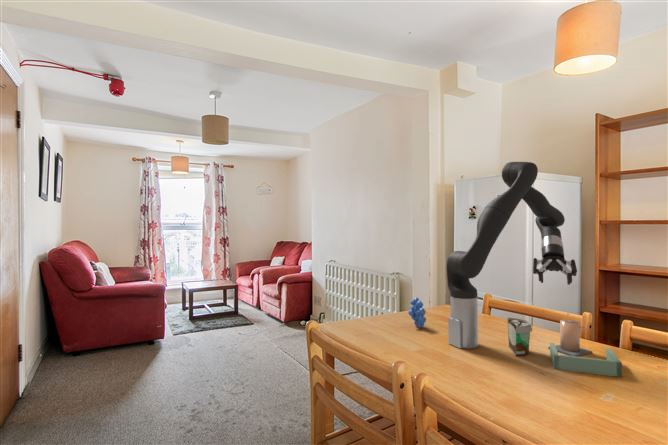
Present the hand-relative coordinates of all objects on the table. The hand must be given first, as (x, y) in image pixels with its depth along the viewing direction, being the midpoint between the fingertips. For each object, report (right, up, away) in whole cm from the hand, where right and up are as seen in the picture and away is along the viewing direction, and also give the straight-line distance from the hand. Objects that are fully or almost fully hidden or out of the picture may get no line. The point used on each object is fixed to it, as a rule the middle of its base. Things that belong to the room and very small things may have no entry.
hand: (555, 282), depth 140 cm
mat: (-2, -21, -12) cm, 24 cm away
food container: (-18, -22, -12) cm, 31 cm away
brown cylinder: (-2, -20, -12) cm, 24 cm away
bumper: (-6, -21, -24) cm, 33 cm away
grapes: (-47, -22, +21) cm, 56 cm away
